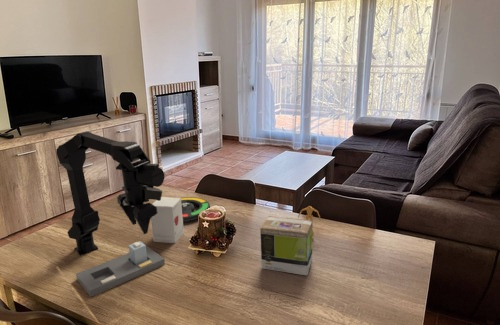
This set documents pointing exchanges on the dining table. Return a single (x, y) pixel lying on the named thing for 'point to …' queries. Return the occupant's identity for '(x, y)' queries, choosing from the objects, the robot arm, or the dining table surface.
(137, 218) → the robot arm
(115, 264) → the panel
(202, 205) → the electronic game
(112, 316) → the dining table surface
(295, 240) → the tea box
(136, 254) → the plug
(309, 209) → the figurine
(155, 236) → the supplement box
